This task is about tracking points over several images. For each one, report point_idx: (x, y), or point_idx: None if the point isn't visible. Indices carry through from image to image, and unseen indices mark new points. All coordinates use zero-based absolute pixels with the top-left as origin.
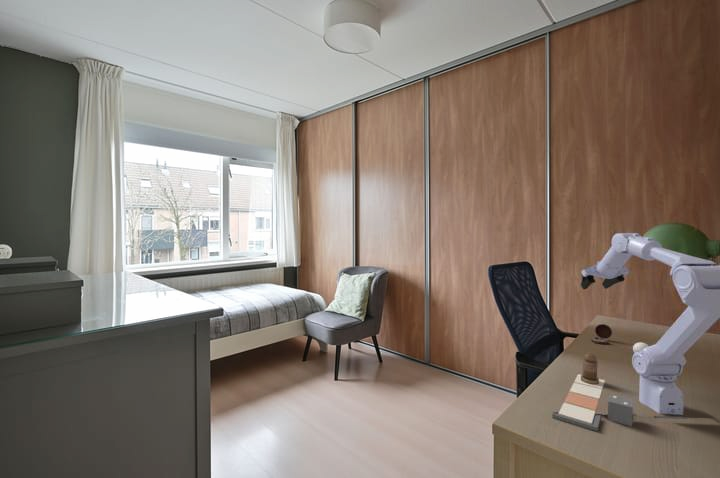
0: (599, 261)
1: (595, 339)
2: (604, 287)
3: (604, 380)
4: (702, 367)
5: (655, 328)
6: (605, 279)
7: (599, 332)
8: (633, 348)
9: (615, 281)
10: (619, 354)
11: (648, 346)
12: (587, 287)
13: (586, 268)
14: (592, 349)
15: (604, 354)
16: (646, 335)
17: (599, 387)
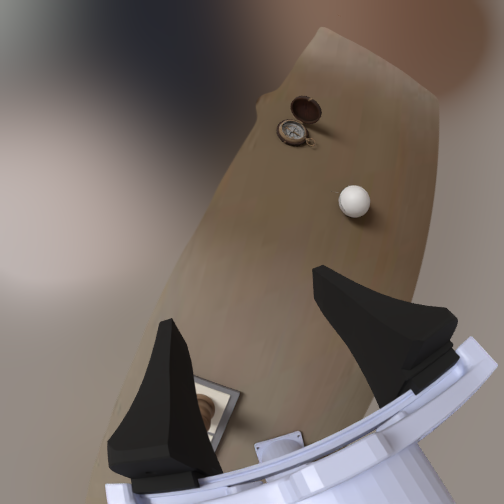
0: (334, 484)
1: (283, 133)
2: (314, 292)
3: (229, 396)
4: (417, 238)
5: (386, 71)
6: (340, 296)
7: (298, 108)
8: (341, 199)
9: (372, 388)
10: (311, 200)
11: (368, 204)
12: (191, 374)
13: (146, 461)
14: (263, 181)
15: (280, 208)
16: (373, 96)
17: (210, 430)
